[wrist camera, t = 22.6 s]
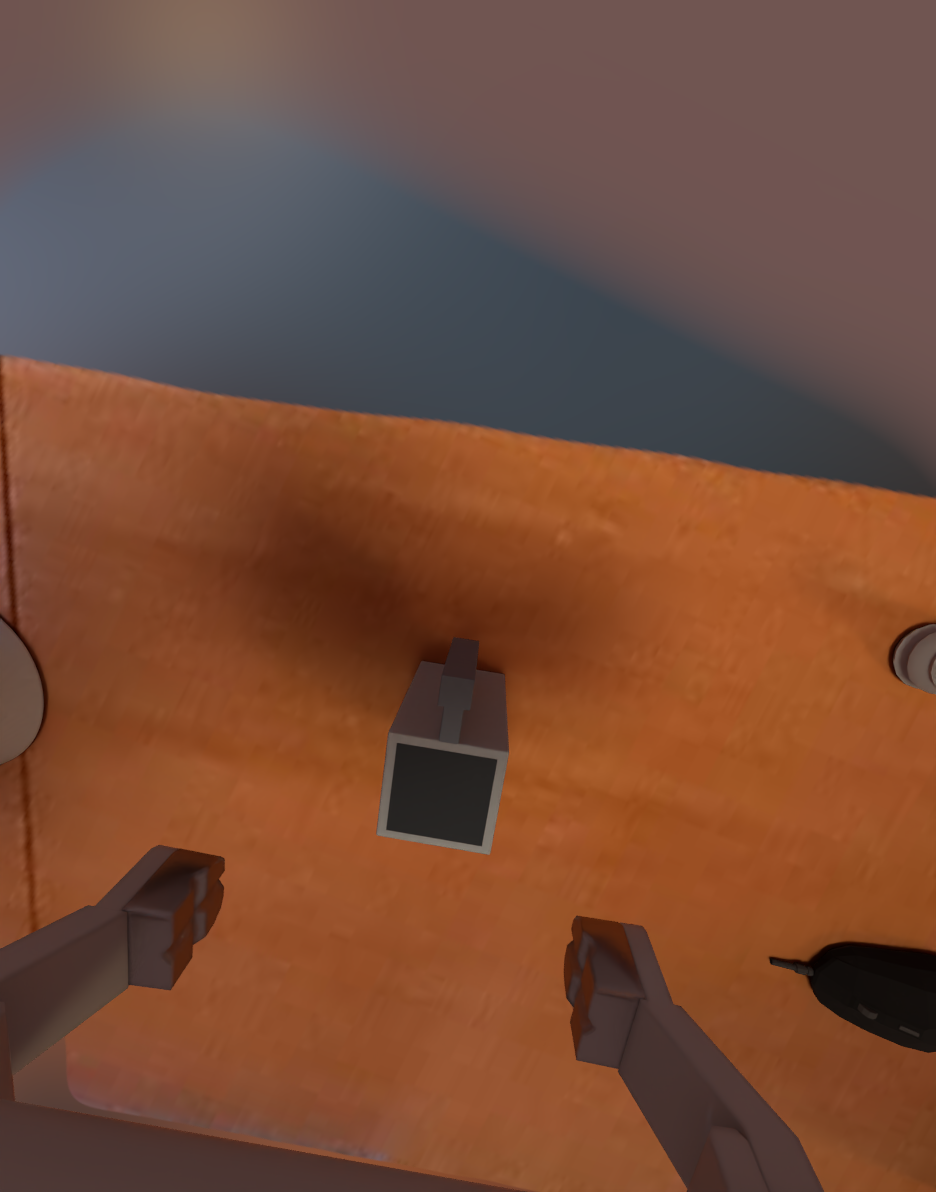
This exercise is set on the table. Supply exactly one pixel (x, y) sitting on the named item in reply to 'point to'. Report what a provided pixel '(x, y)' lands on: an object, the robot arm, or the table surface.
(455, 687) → the grey box with ridge
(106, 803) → the table surface
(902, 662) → the rook chess piece
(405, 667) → the table surface
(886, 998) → the gaming mouse
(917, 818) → the table surface
